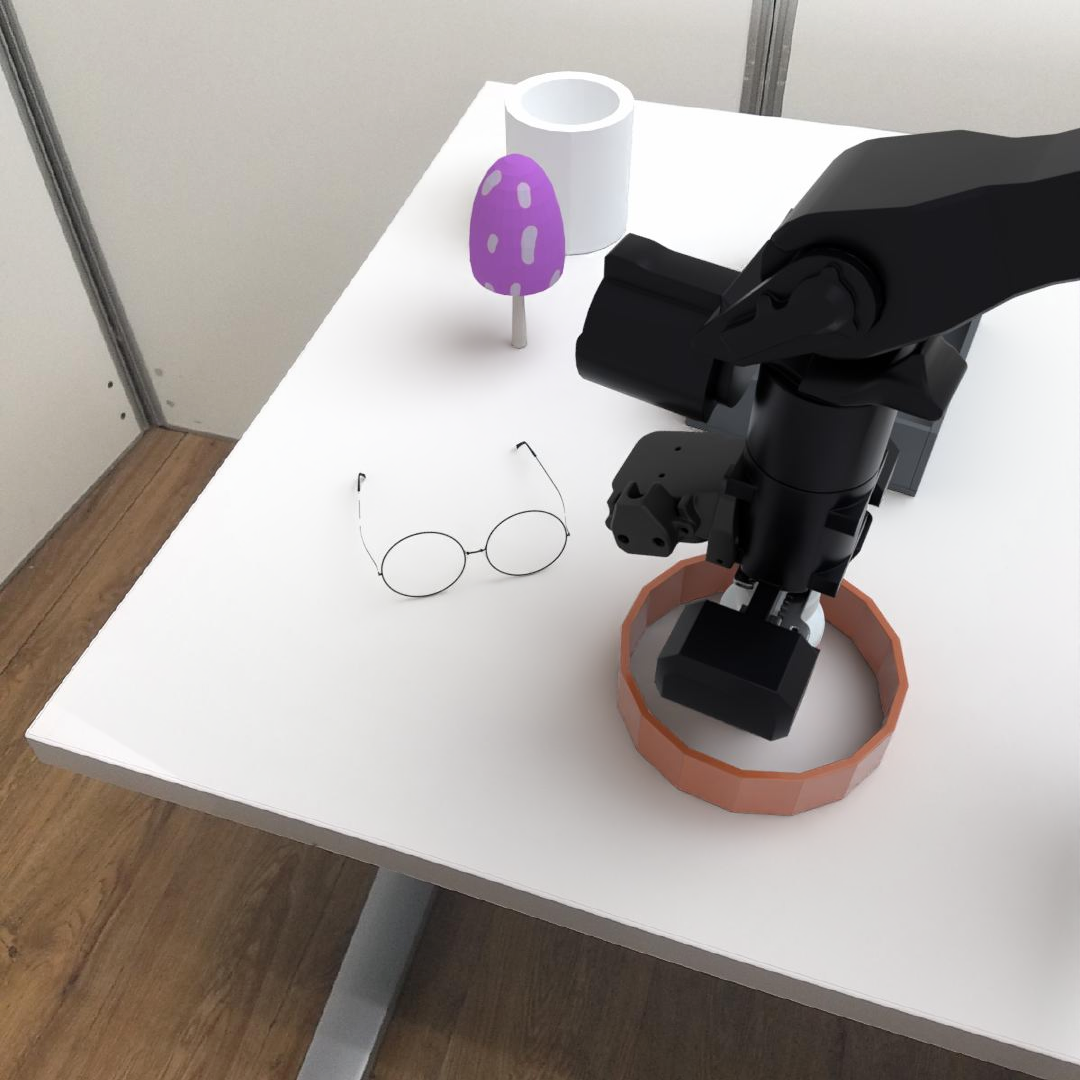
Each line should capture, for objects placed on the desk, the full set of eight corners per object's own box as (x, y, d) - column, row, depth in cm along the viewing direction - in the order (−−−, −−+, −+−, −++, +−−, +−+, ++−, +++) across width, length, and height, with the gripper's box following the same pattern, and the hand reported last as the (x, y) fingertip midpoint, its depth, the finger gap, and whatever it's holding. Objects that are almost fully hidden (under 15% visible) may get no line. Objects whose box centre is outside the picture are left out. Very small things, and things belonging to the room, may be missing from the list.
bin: (980, 320, 82) (1003, 258, 78) (914, 497, 69) (937, 434, 65) (779, 268, 86) (791, 207, 82) (684, 424, 74) (692, 361, 70)
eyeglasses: (348, 479, 71) (337, 422, 67) (531, 444, 73) (531, 387, 69) (376, 607, 63) (365, 552, 60) (578, 564, 66) (580, 508, 62)
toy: (463, 362, 79) (448, 175, 68) (491, 310, 83) (482, 126, 72) (549, 378, 77) (549, 191, 66) (574, 325, 82) (578, 140, 71)
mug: (541, 164, 98) (540, 47, 90) (649, 181, 96) (658, 63, 88) (492, 243, 89) (486, 121, 81) (609, 263, 87) (615, 140, 79)
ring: (919, 641, 61) (935, 603, 59) (847, 861, 53) (862, 829, 50) (676, 555, 66) (682, 516, 63) (573, 744, 57) (573, 708, 54)
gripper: (712, 283, 53) (684, 499, 65) (547, 529, 42) (548, 736, 54) (936, 343, 50) (864, 560, 62) (819, 629, 39) (758, 827, 51)
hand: (760, 659), depth 57 cm, fingers closed on pill bottle, 5 cm apart
